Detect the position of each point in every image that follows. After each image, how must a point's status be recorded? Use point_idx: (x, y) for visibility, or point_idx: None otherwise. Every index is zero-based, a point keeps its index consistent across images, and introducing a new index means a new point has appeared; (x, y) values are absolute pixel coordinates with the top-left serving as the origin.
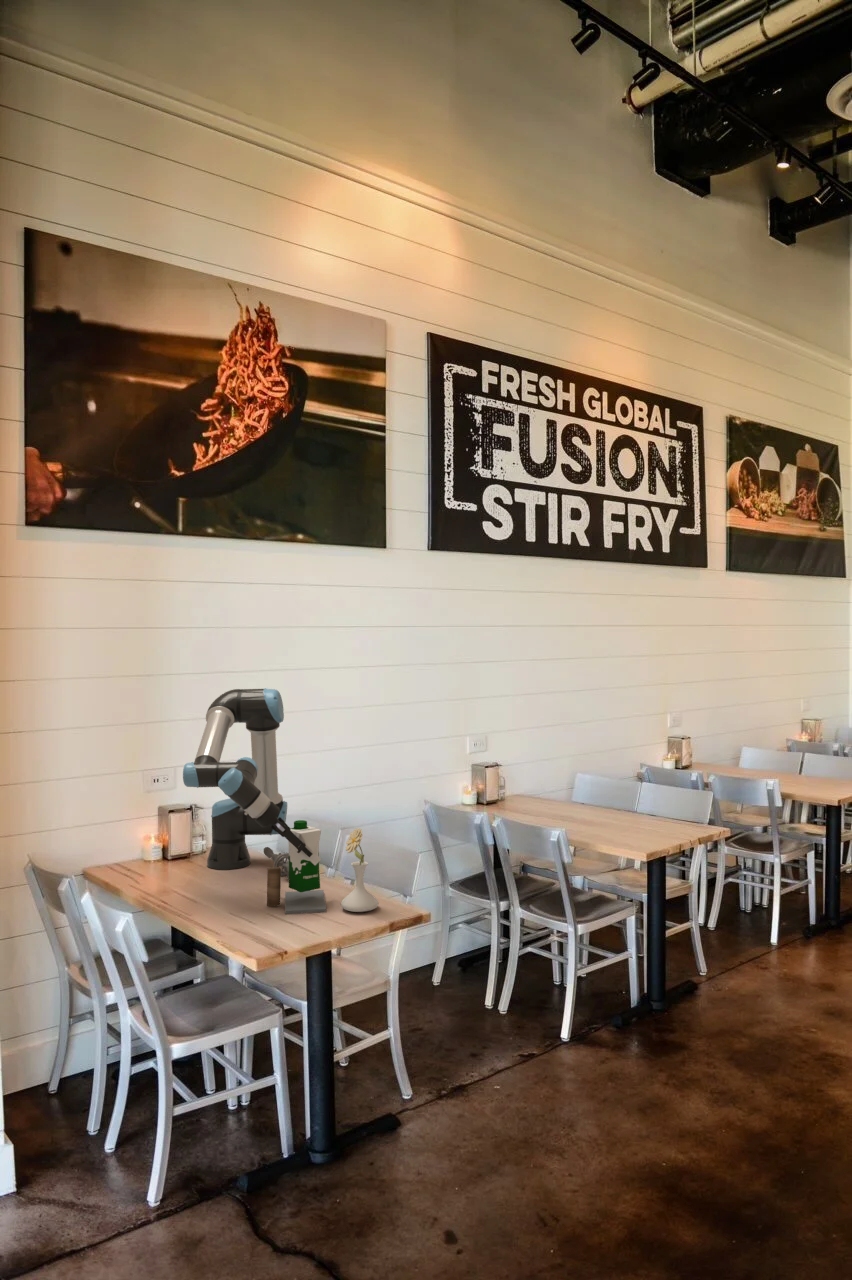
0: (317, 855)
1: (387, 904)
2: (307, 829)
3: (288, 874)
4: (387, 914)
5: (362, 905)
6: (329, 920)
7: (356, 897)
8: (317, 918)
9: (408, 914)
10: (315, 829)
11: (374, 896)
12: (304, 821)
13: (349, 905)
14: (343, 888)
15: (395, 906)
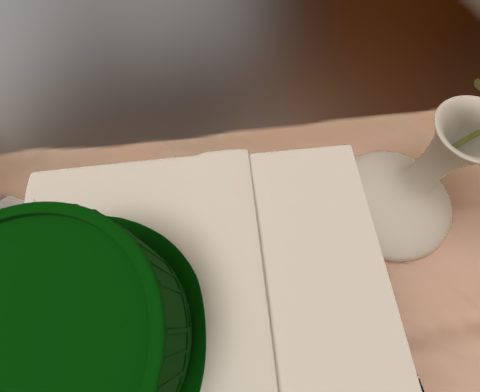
0: None
1: (370, 133)
2: (265, 299)
3: None
4: (456, 172)
5: (450, 217)
6: (453, 342)
7: (434, 216)
8: (416, 368)
9: None
10: (286, 187)
11: (401, 155)
12: (46, 245)
13: (429, 249)
14: (169, 154)
15: (396, 126)
